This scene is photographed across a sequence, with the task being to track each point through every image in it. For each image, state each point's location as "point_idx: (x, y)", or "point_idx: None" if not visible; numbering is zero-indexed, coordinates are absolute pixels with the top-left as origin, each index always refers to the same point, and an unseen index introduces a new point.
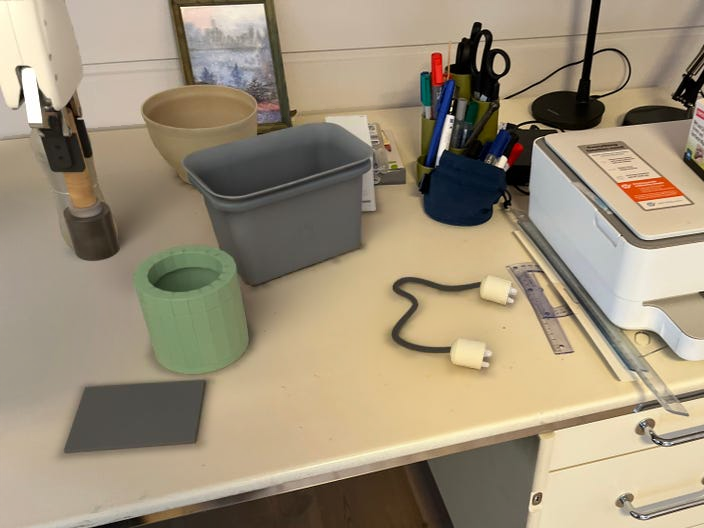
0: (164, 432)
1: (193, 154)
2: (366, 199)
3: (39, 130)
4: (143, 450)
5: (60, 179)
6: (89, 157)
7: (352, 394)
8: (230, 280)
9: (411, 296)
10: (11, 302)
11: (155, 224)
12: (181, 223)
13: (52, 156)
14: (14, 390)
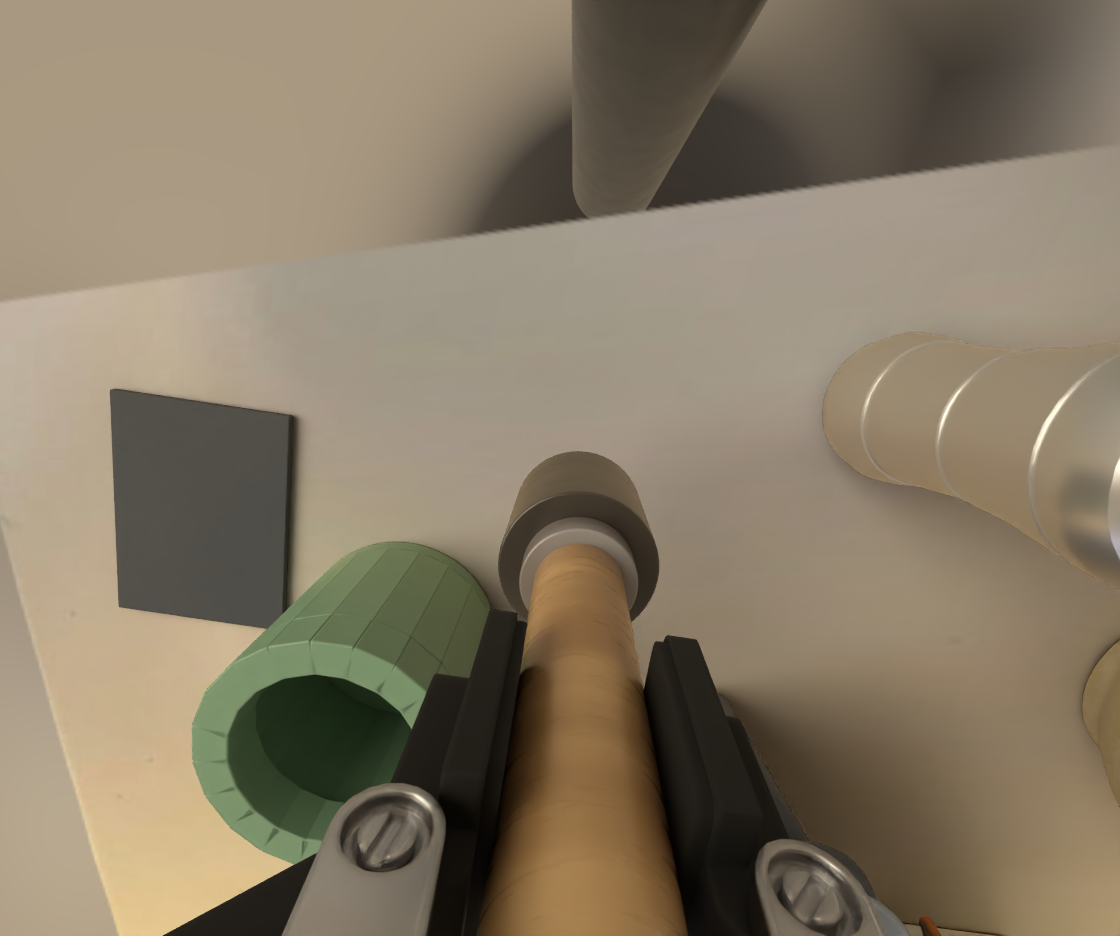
0: (143, 560)
1: (890, 923)
2: None
3: (204, 914)
4: (114, 521)
5: (983, 416)
6: None
7: (222, 842)
8: (270, 853)
9: None
10: (659, 216)
11: (935, 546)
12: (916, 605)
13: (422, 706)
14: (312, 270)
